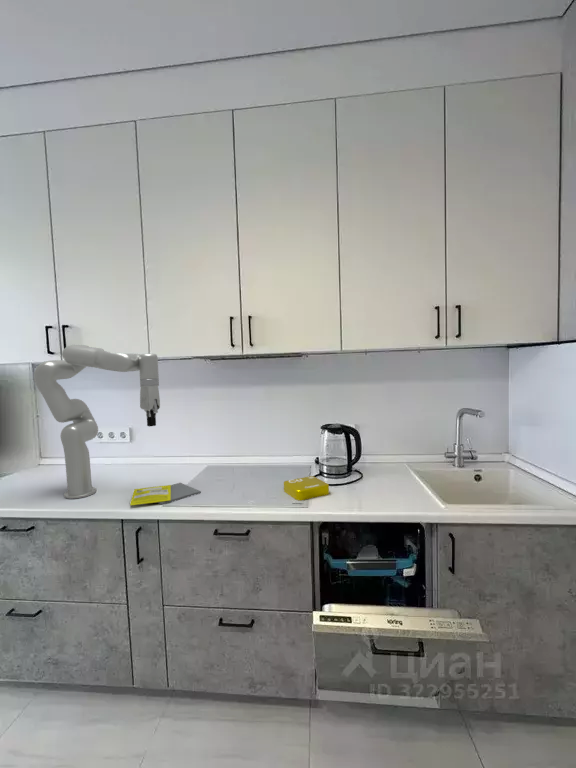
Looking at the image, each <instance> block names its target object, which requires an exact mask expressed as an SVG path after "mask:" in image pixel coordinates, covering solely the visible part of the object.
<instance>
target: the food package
mask: <svg viewBox="0 0 576 768" xmlns="http://www.w3.org/2000/svg"><path fill="white" fill-rule="evenodd" d="M171 485H172V484H168V485H159V486H149V487H142V488H134V490H133V492H132V497H131V499H130V503H129V506H137V505H145V504H153V503H156V502H162V501H169V500H171Z"/></svg>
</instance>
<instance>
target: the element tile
mask: <svg viewBox="0 0 576 768" xmlns="http://www.w3.org/2000/svg"><path fill="white" fill-rule="evenodd" d="M329 486H330V485H329V484H328V482H325V481H324V480H321V479H320V478H318V477H317V476H316V477H315V476H314V475H310V476H304V477H299V478H293V479H289V480H288V479H287V480H285V481H284V482H283V492H284V493H285V494H286V495H289V496H290V497H291V498H293V499H294V500H296V501H300V502H301V501H306V500H312V499H315V498H319V497H324V496H328V495H329V494H330V487H329Z"/></svg>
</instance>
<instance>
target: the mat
mask: <svg viewBox="0 0 576 768" xmlns="http://www.w3.org/2000/svg"><path fill="white" fill-rule="evenodd" d="M170 485H171V500H169V501H162V502H155V503H157V504H159V505H160V506H163V505H166V504H169V502H170V503H173V502H175V500H176V501H179V500H182V499H181V498H183V499H185V498H184V497H186V498H188V497H187V496H189V497H192V496H191V495H193V496H195V495H194V494H196V495H199V494H201V493H202V490H199V489H196V488H194V487H191V486H189V485H187V484H185V483H182V482H178V483H175V484H170ZM198 493H199V494H198ZM178 499H179V500H178ZM172 501H173V502H172Z"/></svg>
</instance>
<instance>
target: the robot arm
mask: <svg viewBox="0 0 576 768" xmlns="http://www.w3.org/2000/svg"><path fill="white" fill-rule="evenodd" d="M61 356H62V359H60V360H59V359H57V360H46V361H43V362H41V363H40V364H38V365H37V366H36V367H35V370H34V372H33V380H34V383H35V386H36V388H37V389H38V391H39V392H40V394H41V395H42V397H43V400H44V401H45V403H46V405H47V407H48V409H49V411H50V413H51V415H52V416H53V418H54V420H55V421H56V422H58V423H61V424H62V423H68V422H72V423H69V424H67V425H65V426H64V427H63V428H62V430H61V432H60V441H61V445H62V448H63V454H64V461H65V462H64V463H65V474H66V475H65V476H66V485H67V491H65V492H64V493H63V496H64V499H67V500H69V499H71V500H72V499H73V500H74V499H81V498H86V497H88V496H89V497H90V496H91V495H93V494H95V493H96V492H97V488H96V487H94V486H93V484H92V470H91V469H92V468H91V458H90V450H89V447H88V445H87V444H86V442H89V441H91V440H93V439H95V438H96V437H97V435H98V433H99V426H98V424H97V421H96V420H95V418H94V415H93V414H92V412H91V410H90V407H88V405H87V403H86V402H84V400H82V399H79V398H70V397H69V396H68V394H67V392H66V390H65V388H63V386H62V385H61V384H59V382H58V380H59V381H60V380H67V379H72V378H74V377H75V376H76V375H77V374H79V373H80V372H82V371H83V370H84V369H85V368H86V367H88V368H94V369H95V368H96V369H101V370H104V371H112V372H119V373H129V372H138V371H139V385H140V391H139V405H140V406H139V407H140V409H141V410H144V412H145V415H146V426H147V427H155V426H157V419H156V417H157V413H159V410H160V408H161V398H160V390H159V389H160V388H159V386H160V381H159V380H160V379H159V376H160V375H159V359H158V358H159V357H158V354H156V353H120V352H111V351H106V350H104V349H103V348H102V347H101V348H100V347H92V346H89V345H84V344H81V345H80V344H72V345H71V344H70V345H67V346H66V347H65V348H64V349H63V350H62V352H61Z"/></svg>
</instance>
